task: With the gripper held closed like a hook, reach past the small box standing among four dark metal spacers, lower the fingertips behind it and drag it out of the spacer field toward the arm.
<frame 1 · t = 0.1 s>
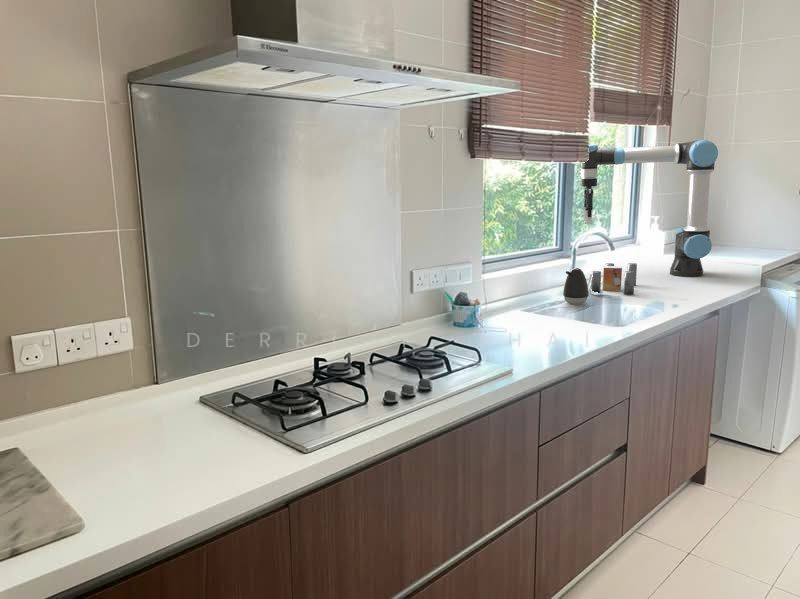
hand: (587, 222, 309), 28 cm above the worktop, fingers open, 13 cm apart
pump dispenser: (575, 304, 267), on the worktop
spacer field: (614, 289, 291), on the worktop
small box: (611, 289, 291), on the worktop
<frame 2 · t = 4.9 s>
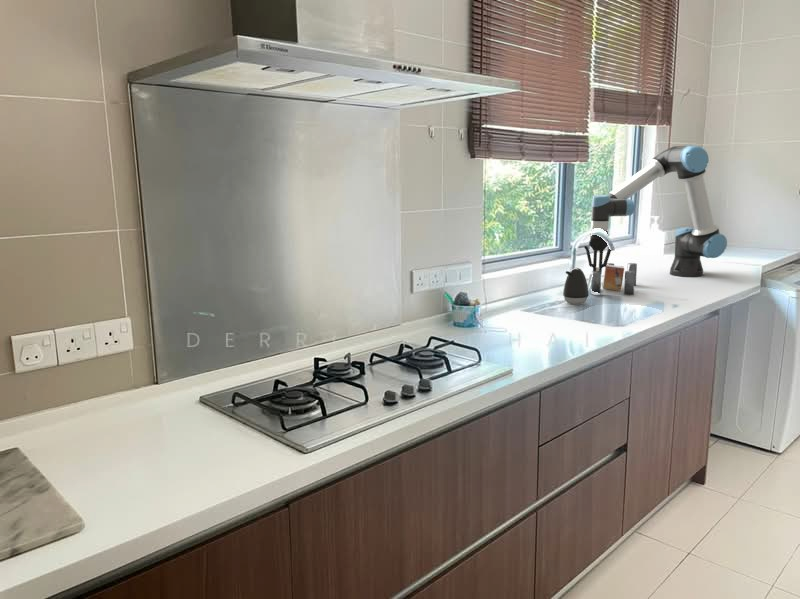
hand: (596, 281, 291), 4 cm above the worktop, fingers closed
small box: (611, 289, 291), on the worktop, touching gripper, hand
everything else where it was.
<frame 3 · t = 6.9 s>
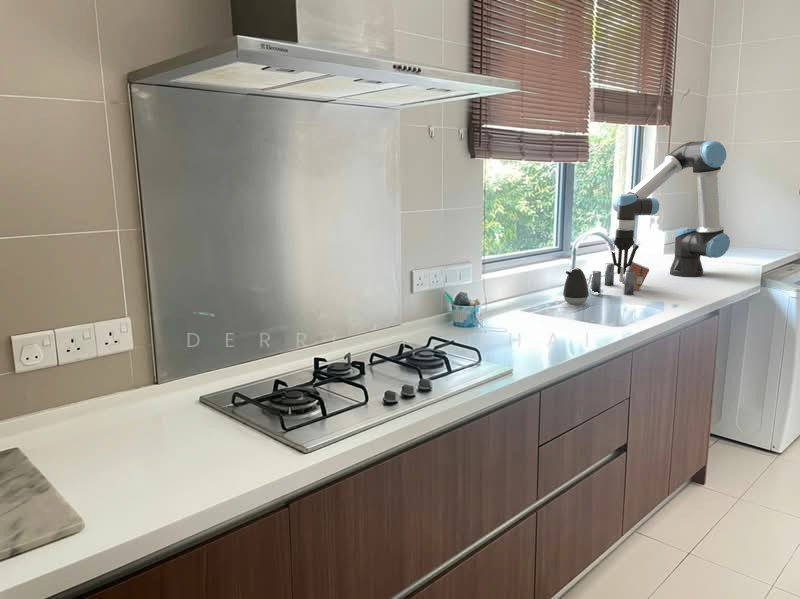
hand: (620, 281, 289), 4 cm above the worktop, fingers closed
small box: (629, 286, 289), point 1 cm above the worktop, touching gripper, hand
everything else where it was.
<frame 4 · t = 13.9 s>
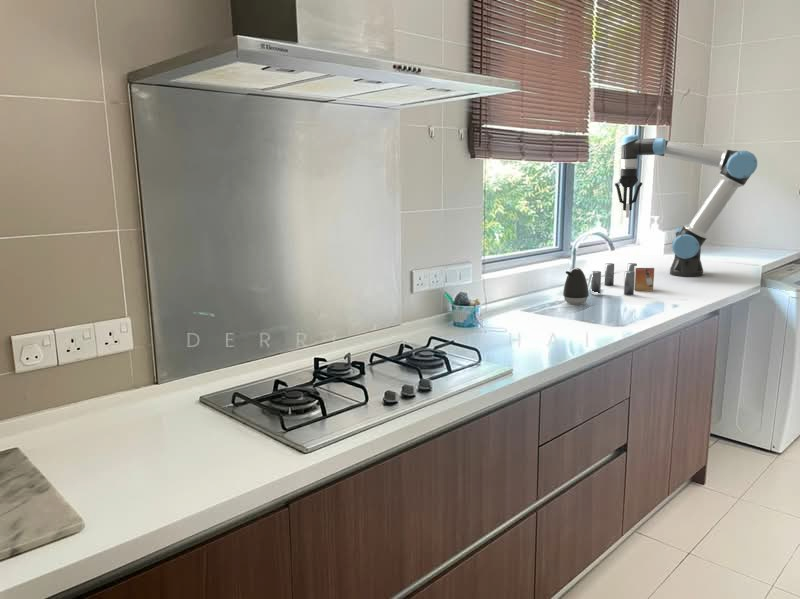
hand: (627, 217, 313), 29 cm above the worktop, fingers closed
small box: (643, 290, 288), on the worktop
everything else where it was.
at the end: small box inside the target area (5.0 cm from its centre), on the worktop; small box tilted 0°; small box moved 13.5 cm from its start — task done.
